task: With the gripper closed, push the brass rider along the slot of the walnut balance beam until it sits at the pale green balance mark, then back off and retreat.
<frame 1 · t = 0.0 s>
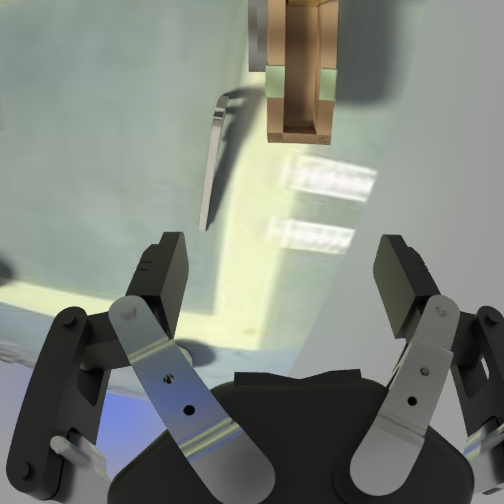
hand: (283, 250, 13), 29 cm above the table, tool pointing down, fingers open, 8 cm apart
beam: (292, 33, 30), on the table
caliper: (212, 167, 42), on the table
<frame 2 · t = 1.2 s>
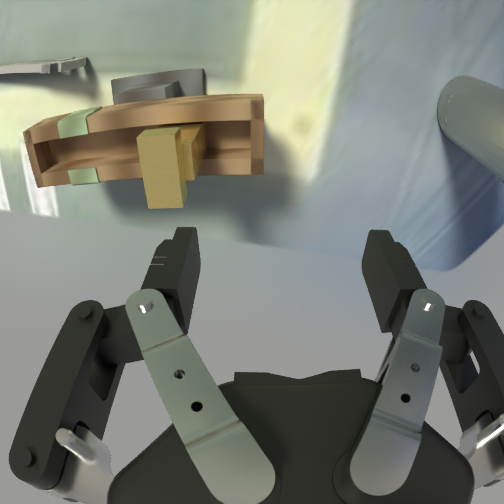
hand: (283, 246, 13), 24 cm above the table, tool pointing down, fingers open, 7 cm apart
rider: (175, 149, 22), point 12 cm above the table, slide at -4.5 cm
beam: (160, 115, 32), on the table
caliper: (23, 64, 26), on the table
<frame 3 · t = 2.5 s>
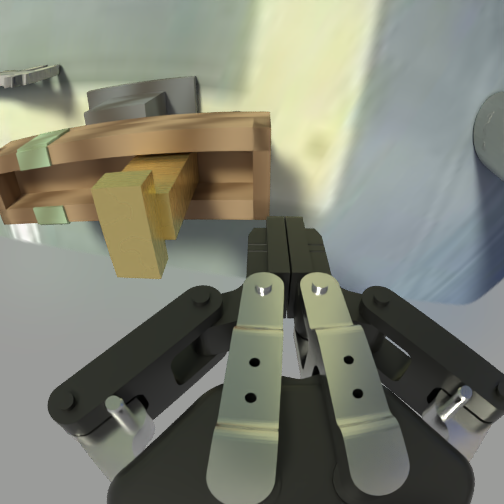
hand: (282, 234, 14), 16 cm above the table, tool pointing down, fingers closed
rider: (152, 192, 17), point 12 cm above the table, slide at -4.5 cm
beam: (145, 134, 27), on the table
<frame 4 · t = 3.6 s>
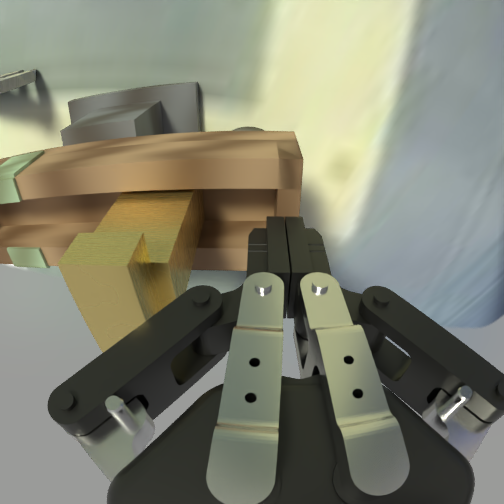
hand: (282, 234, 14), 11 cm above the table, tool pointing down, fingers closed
rider: (146, 244, 13), point 12 cm above the table, slide at -4.5 cm
beam: (138, 151, 23), on the table
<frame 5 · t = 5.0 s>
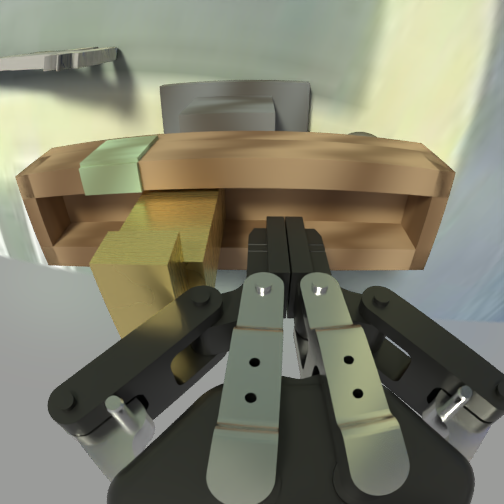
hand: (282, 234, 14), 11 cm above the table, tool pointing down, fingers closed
rider: (172, 244, 13), point 12 cm above the table, slide at 1.9 cm, touching hand
beam: (235, 146, 23), on the table
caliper: (18, 58, 17), on the table
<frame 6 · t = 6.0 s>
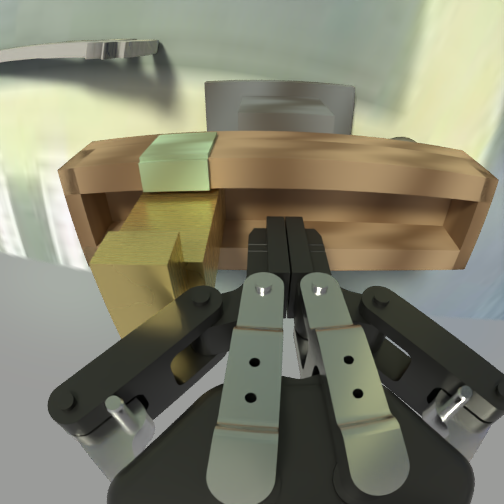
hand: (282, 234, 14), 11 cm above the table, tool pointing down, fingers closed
rider: (172, 244, 13), point 12 cm above the table, slide at 5.0 cm, touching hand
beam: (278, 147, 22), on the table
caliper: (45, 48, 17), on the table
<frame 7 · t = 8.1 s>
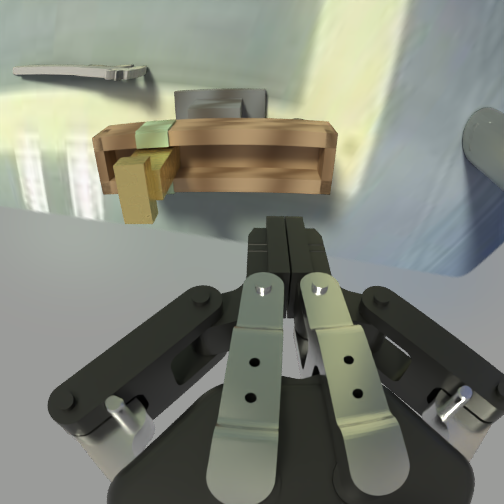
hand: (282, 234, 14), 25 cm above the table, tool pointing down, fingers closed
rider: (149, 171, 26), point 12 cm above the table, slide at 5.0 cm
beam: (220, 130, 35), on the table
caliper: (73, 66, 30), on the table
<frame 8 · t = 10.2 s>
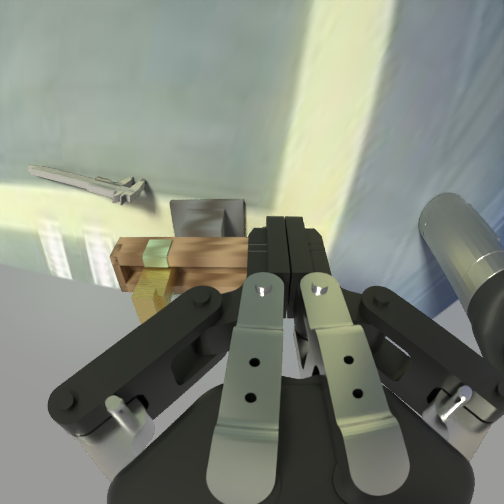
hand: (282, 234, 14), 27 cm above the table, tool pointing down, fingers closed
rider: (155, 286, 37), point 12 cm above the table, slide at 5.0 cm
beam: (209, 230, 46), on the table
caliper: (82, 172, 41), on the table
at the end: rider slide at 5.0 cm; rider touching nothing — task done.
